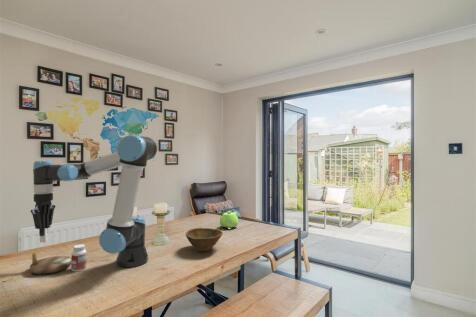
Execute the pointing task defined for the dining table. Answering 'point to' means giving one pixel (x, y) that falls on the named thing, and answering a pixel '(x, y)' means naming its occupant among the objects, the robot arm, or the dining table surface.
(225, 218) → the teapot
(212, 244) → the bowl
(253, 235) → the dining table surface
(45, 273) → the susan base
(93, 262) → the dining table surface
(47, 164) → the robot arm
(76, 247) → the pill bottle
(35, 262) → the disc
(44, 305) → the dining table surface
